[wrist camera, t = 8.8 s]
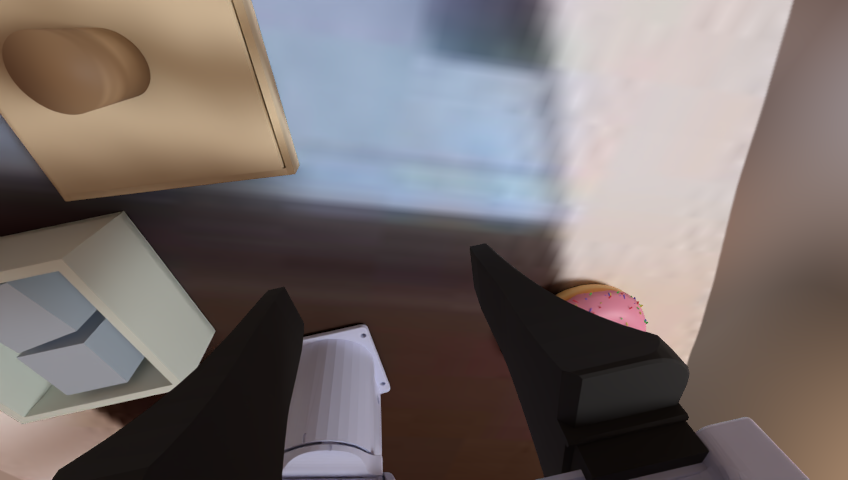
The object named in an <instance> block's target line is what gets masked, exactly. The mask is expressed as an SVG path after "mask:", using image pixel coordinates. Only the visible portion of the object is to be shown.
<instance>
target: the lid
mask: <svg viewBox="0 0 848 480" xmlns="http://www.w3.org/2000/svg"><path fill="white" fill-rule="evenodd" d="M0 113H1V115H2V116H3V117H4V119H5V120H6V122H7V123H8V124H9V126H10V127H11V128H12V130H13V131H14V132H15V134H16V135H17V136H18V138H19V139H20V140H21V142H22V143H23V144H24V146H25V147H26V149H27V150H28V151H29V153H30V154H31V155H32V157H33V158H34V159H35V161H36V162H37V163H38V165H39V166H40V167H41V169H42V170H43V171H44V173H45V174H46V176H47V177H48V178H49V180H50V181H51V182H52V184H53V185H54V186H55V188H56V189H57V190H58V192H59V193H60V194H61V196H62V197H63V198H64V200H65V201H74V200H83V199H91V198H99V197H108V196H116V195H124V194H133V193H141V192H149V191H158V190H166V189H174V188H183V187H191V186H199V185H208V184H216V183H224V182H233V181H241V180H249V179H258V178H266V177H274V176H283V175H291V174H295V173H296V171H297V169H298V167H299V162H298V158H297V155H296V152H295V148H294V145H293V141H292V138H291V134H290V131H289V128H288V124H287V121H286V117H285V114H284V111H283V107H282V104H281V100H280V97H279V93H278V90H277V87H276V83H275V80H274V76H273V73H272V70H271V66H270V63H269V59H268V56H267V52H266V49H265V46H264V42H263V39H262V35H261V32H260V29H259V25H258V22H257V18H256V15H255V11H254V8H253V5H252V1H251V0H0Z"/></svg>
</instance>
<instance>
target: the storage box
mask: <svg viewBox="0 0 848 480" xmlns="http://www.w3.org/2000/svg"><path fill="white" fill-rule="evenodd" d="M56 271H59V272H60V273H61V274H62V275H63V276H64V277H65V278H66V279H67V280H68V281H69V282H70V283H71V284H72V285H73V286H74V287H75V288H76V289H77V290H78V291H79V292H80V293H81V294H82V295H83V296H84V297H85V298H86V299H87V300H88V301H89V302H90V303H91V304H92V305H93V306H94V307H95V308H96V309H97V310H98V311H99V312H100V313H101V314H102V315H103V316H104V317H105V318H106V319H107V320H108V321H109V322H110V323H111V324H112V325H113V326H114V327H115V328H116V329H117V330H118V331H119V332H120V333H121V334H122V335H123V336H124V337H125V338H126V339H127V340H128V341H129V342H130V343H131V344H132V345H133V346H134V347H135V348H136V349H137V350H138V351H140V352H141V353H142V354H143V355H144V356H145V357H144V359H143V360H142V362H141V363H140V365H139V366H138V368H137V369H136V371H135V372H134V374H133V375H132V377H131V378H130V380H129V381H128V382H127V383H122V384H117V385H113V386H108V387H104V388H99V389H95V390H90V391H86V392H81V393H77V394H72V395H66V394H64V393H63V392H62V391H60V390H59V389H58V388H56V387H55V386H54V385H52V384H51V383H50V382H48V381H47V380H45V379H44V378H43V377H41V376H40V375H39V374H37V373H36V372H35V371H33V370H32V369H31V368H29V367H28V366H27V365H25V364H24V363H23V362H21V361H20V360H19V359H17V358H16V357H17V356H18V355H20V354H21V353H22V352H21V353H17V352H15V351H14V350H12V349H10V348H9V347H7V346H5V345H3V344H2V343H0V411H2V412H3V413H5V414H7V415H8V416H10V417H11V418H13V419H15V420H16V421H18V422H20V423H21V424H26V423H30V422H35V421H39V420H44V419H48V418H53V417H57V416H62V415H67V414H71V413H76V412H80V411H85V410H89V409H94V408H98V407H103V406H107V405H112V404H116V403H121V402H125V401H130V400H134V399H139V398H144V397H148V396H153V395H157V394H162V393H166V392H170V391H171V390H172V389H173V388H174V387H176V386H177V385H178V384H179V383H180V382H182V381H183V380H184V379H185V378H186V377H187V376H188V375H189V374H190V373H192V372H193V371H194V370H195V369H196V368H197V367H198V365H199V363H200V361H201V359H202V357H203V355H204V353H205V351H206V349H207V347H208V345H209V343H210V341H211V339H212V337H213V335H214V333H215V329H214V328H213V327H212V325H211V324H210V323H209V321H208V320H207V319H206V318H205V316H204V315H203V314H202V312H201V311H200V310H199V308H198V307H197V306H196V304H195V303H194V302H193V301H192V299H191V298H190V297H189V295H188V294H187V293H186V291H185V290H184V289H183V287H182V286H181V285H180V284H179V282H178V281H177V280H176V278H175V277H174V276H173V274H172V273H171V272H170V270H169V269H168V268H167V267H166V265H165V264H164V263H163V261H162V260H161V259H160V257H159V256H158V255H157V253H156V252H155V251H154V249H153V248H152V247H151V246H150V244H149V243H148V242H147V240H146V239H145V238H144V236H143V235H142V234H141V232H140V231H139V230H138V229H137V227H136V226H135V225H134V223H133V222H132V221H131V219H130V218H129V217H128V215H127V214H126V213H125V212H124V211H121V212H117V213H112V214H107V215H102V216H98V217H93V218H88V219H83V220H79V221H74V222H69V223H64V224H59V225H55V226H50V227H45V228H40V229H36V230H31V231H26V232H21V233H17V234H12V235H7V236H2V237H0V283H4V282H9V281H13V280H18V279H23V278H28V277H32V276H37V275H42V274H46V273H51V272H56Z"/></svg>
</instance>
